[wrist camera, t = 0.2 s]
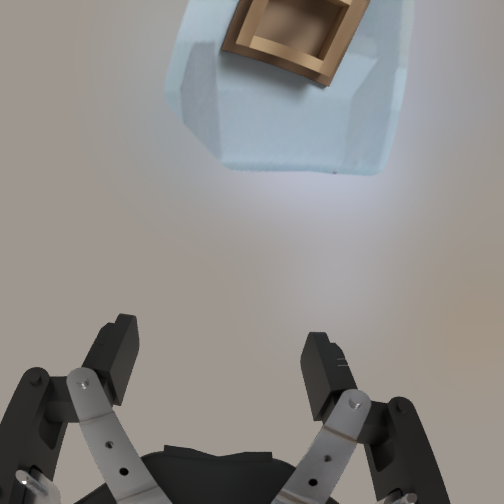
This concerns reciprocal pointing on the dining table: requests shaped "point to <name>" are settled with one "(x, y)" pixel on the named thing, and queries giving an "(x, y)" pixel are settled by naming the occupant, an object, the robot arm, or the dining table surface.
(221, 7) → the dining table surface
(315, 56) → the shaker caddy
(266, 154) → the dining table surface
